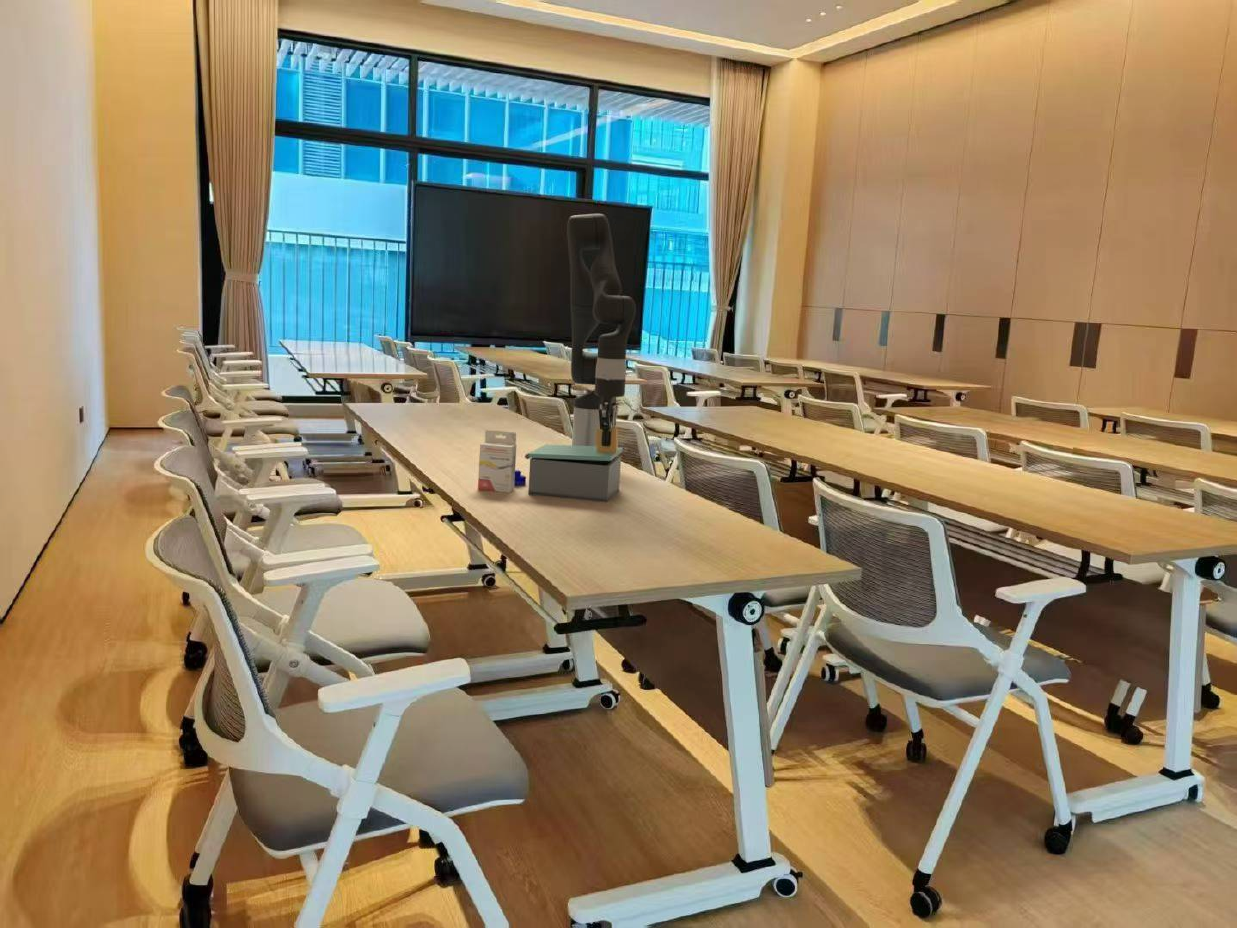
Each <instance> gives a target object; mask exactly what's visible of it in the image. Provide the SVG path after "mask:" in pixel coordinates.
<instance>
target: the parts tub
mask: <svg viewBox="0 0 1237 928" xmlns="http://www.w3.org/2000/svg"><path fill="white" fill-rule="evenodd" d="M621 464H622V456H619V455H617V456H616V457H615V458H614V459H612V460H611V461H600V460H575V459H551V458H529V473H528V474H529V476H528V495H533V496H541V497H550V498H551V497H552V498H560V499H561V498H562V499H572V500H584V501H593V502H603V503H607V502H609V500H611V498H613V497H614V496H615V494H616V493H618V492H619V490H620V479H621Z"/></svg>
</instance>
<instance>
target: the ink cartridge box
mask: <svg viewBox="0 0 1237 928" xmlns="http://www.w3.org/2000/svg"><path fill="white" fill-rule="evenodd" d="M500 435H501V436H502V437H496V436H500ZM484 437H485V438H484V442H482V443H480V444H479V460H478V477H477V478H478V479H477V490H479V491H480V490H481V491H489V492H490V491H491V492H500V493H512V491H514V490H515V486H514V481H515V470H516V463H517V462H516V460H517V459H516V457H517V433H516V432H514V431H513V432H512V431H511V432H510V431H503V430H502V431H501V430H489V429H487V430H486V429H485V432H484ZM504 437H505V438H504Z"/></svg>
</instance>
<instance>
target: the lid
mask: <svg viewBox="0 0 1237 928" xmlns="http://www.w3.org/2000/svg"><path fill="white" fill-rule="evenodd" d="M618 429H619V428H618V427H614V428H612V431H611V445H610V446H602V431H601V429H600V427H598V428H597V446H572V444H571V445H569V444H568V445H567V444H566V445H565V444H544V445H542V446H540V447H538V448H537V449H533V450H532V451H530V452H528V453H526V454H525V456H524V458H525V459H526V460H530V459H531V458H551V459H575V460H600V461H611V460H612V459H614V458H615V457H616V456H619V455H620V454H622V453H623V451H624V449H623V448H624V447H621V446H620V447H619V446H618V445H619V443H618V442H619V441H618V437H619V436H618V433H619V432H618V431H619V430H618Z"/></svg>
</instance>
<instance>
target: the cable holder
mask: <svg viewBox="0 0 1237 928" xmlns="http://www.w3.org/2000/svg"><path fill="white" fill-rule="evenodd" d="M526 479H527V477H526V476H525V475H523V474H522V471H521V470H518V469H517V470H516V469H515V481H514V487H519V486H526V484H527V483H526V482H527V481H526Z"/></svg>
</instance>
